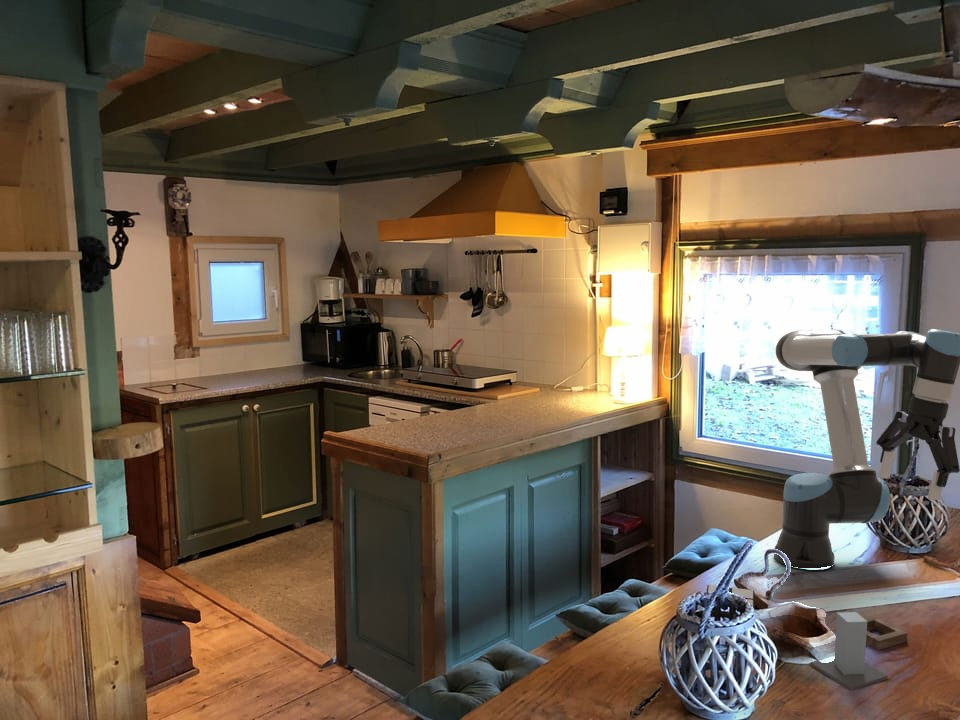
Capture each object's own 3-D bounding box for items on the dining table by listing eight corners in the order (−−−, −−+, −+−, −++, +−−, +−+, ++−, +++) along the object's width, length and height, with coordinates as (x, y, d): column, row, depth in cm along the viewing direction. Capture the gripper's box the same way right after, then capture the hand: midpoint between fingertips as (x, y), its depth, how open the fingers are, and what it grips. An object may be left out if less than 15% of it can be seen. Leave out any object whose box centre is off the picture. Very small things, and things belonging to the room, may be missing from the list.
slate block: (833, 663, 158) (837, 612, 156) (853, 663, 158) (856, 612, 156) (844, 674, 154) (847, 622, 152) (863, 673, 154) (867, 621, 152)
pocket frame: (844, 631, 172) (845, 623, 172) (872, 624, 175) (873, 615, 175) (878, 649, 164) (878, 640, 164) (907, 641, 167) (907, 632, 167)
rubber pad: (810, 664, 158) (810, 662, 158) (846, 654, 162) (846, 651, 162) (850, 690, 149) (850, 687, 149) (887, 678, 153) (888, 675, 153)
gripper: (994, 414, 164) (968, 509, 168) (897, 386, 187) (876, 470, 191) (968, 412, 162) (943, 508, 165) (873, 384, 185) (853, 469, 188)
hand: (907, 488), depth 178 cm, fingers open, 13 cm apart
